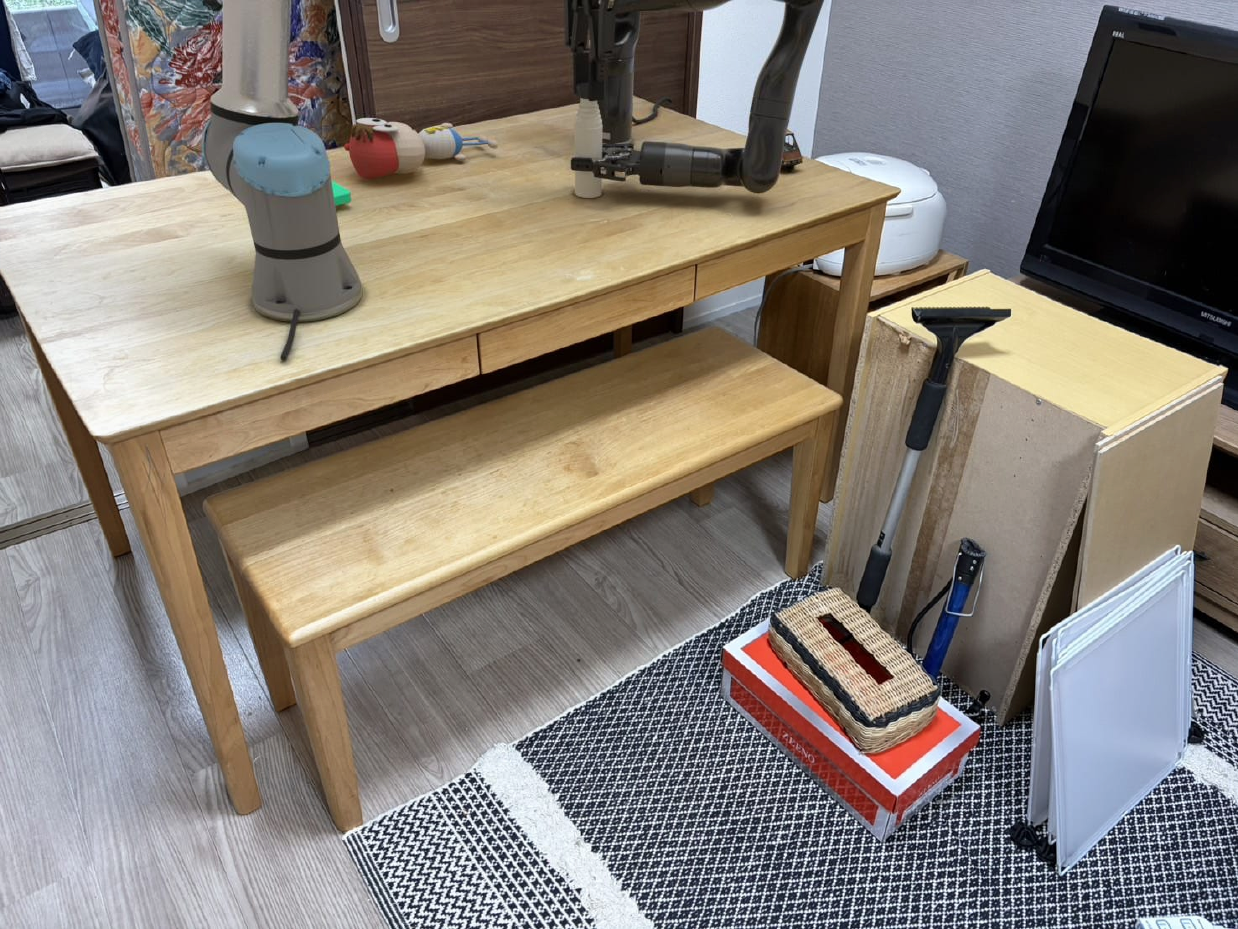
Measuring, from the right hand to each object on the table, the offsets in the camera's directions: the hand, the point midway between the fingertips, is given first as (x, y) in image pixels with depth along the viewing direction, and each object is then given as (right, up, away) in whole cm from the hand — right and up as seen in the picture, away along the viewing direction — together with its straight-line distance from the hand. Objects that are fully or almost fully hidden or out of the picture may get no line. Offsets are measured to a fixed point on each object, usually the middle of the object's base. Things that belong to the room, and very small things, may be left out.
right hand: (574, 158), depth 168 cm
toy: (-30, +3, +13) cm, 33 cm away
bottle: (+2, -5, +4) cm, 7 cm away
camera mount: (-45, -9, -4) cm, 46 cm away
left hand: (+3, +9, -7) cm, 11 cm away
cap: (+3, +10, -8) cm, 13 cm away
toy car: (+40, +5, +19) cm, 44 cm away
